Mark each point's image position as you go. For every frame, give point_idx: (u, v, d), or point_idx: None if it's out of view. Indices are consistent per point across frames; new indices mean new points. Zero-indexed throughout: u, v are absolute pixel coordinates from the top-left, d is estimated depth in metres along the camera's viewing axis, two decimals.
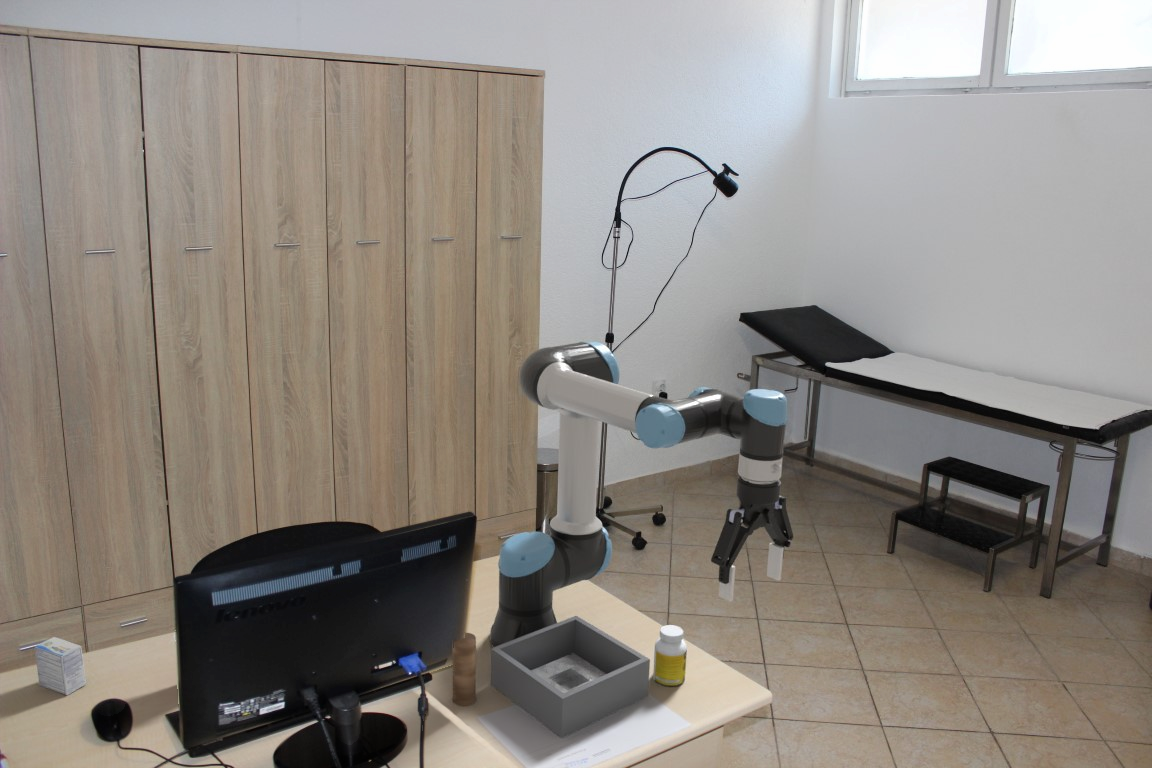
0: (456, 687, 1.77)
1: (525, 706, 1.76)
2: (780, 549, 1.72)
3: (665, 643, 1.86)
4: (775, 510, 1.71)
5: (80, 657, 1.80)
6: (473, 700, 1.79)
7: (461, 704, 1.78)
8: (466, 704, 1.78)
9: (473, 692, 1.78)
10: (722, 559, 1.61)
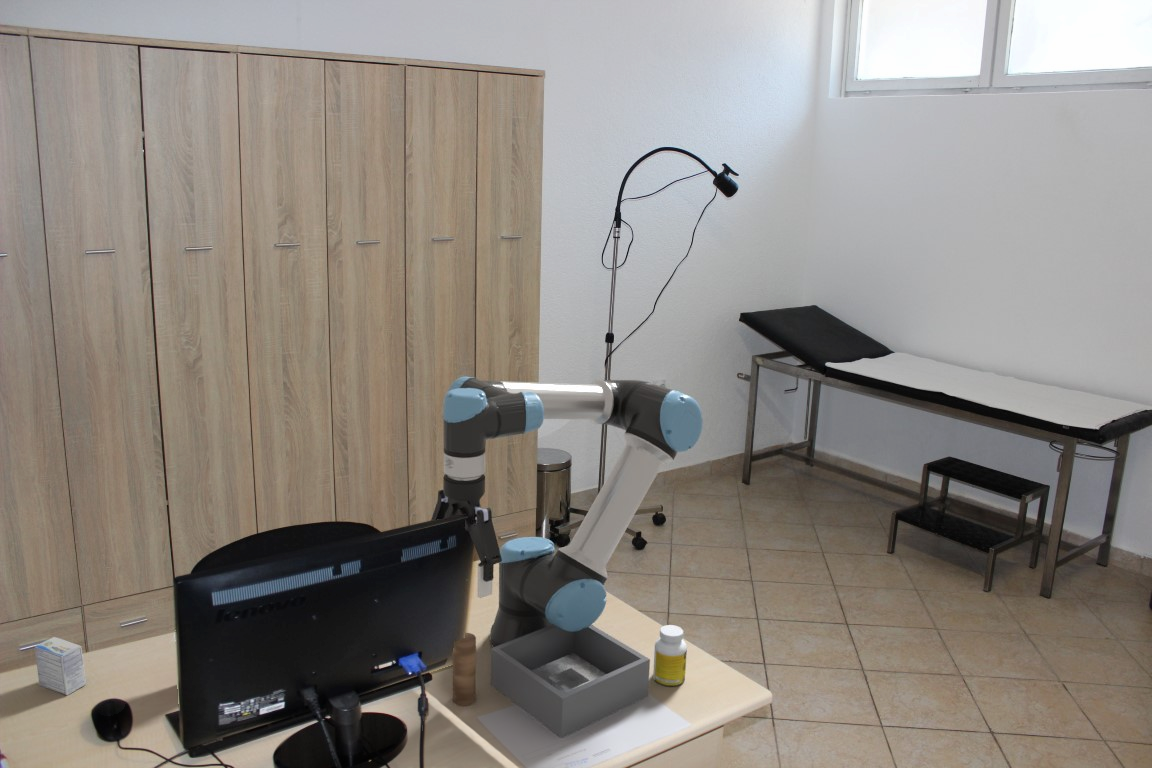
0: (456, 687, 1.77)
1: (525, 706, 1.76)
2: None
3: (665, 643, 1.86)
4: None
5: (80, 657, 1.80)
6: (473, 700, 1.79)
7: (461, 704, 1.78)
8: (466, 704, 1.78)
9: (473, 692, 1.78)
10: None
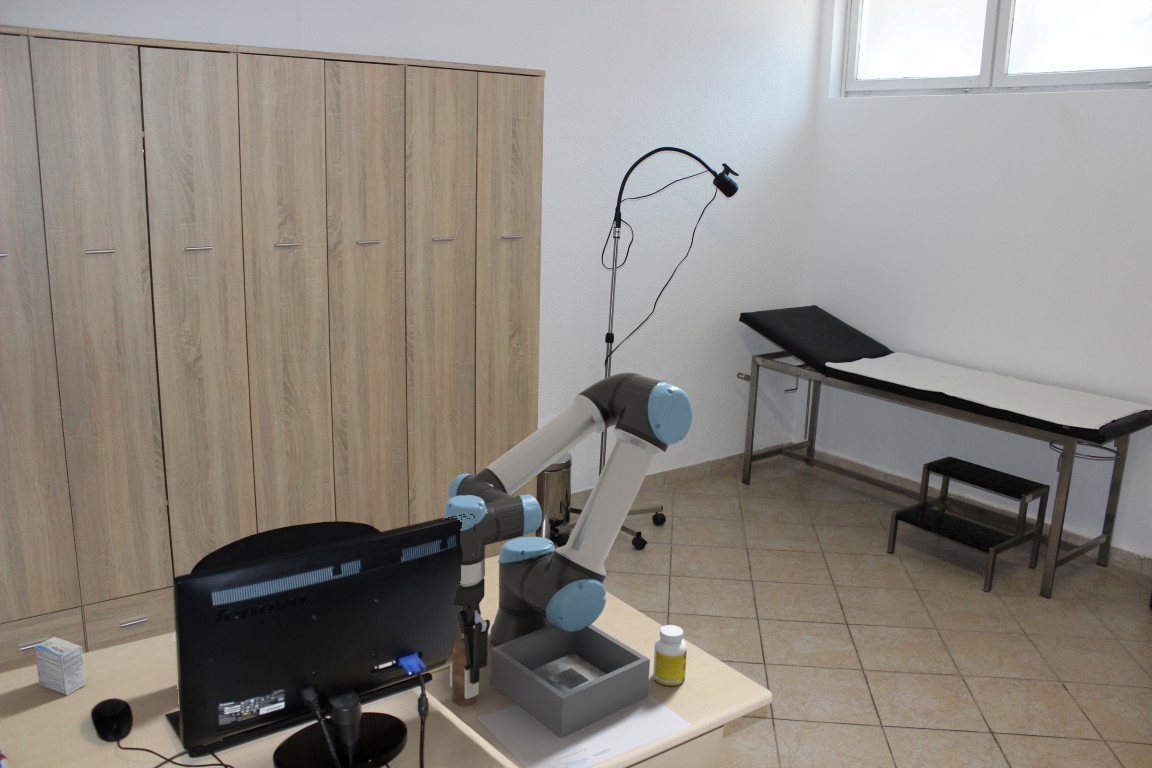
0: (456, 687, 1.77)
1: (525, 706, 1.76)
2: None
3: (665, 643, 1.86)
4: None
5: (80, 657, 1.80)
6: (473, 700, 1.79)
7: (461, 704, 1.78)
8: (466, 704, 1.78)
9: None
10: None
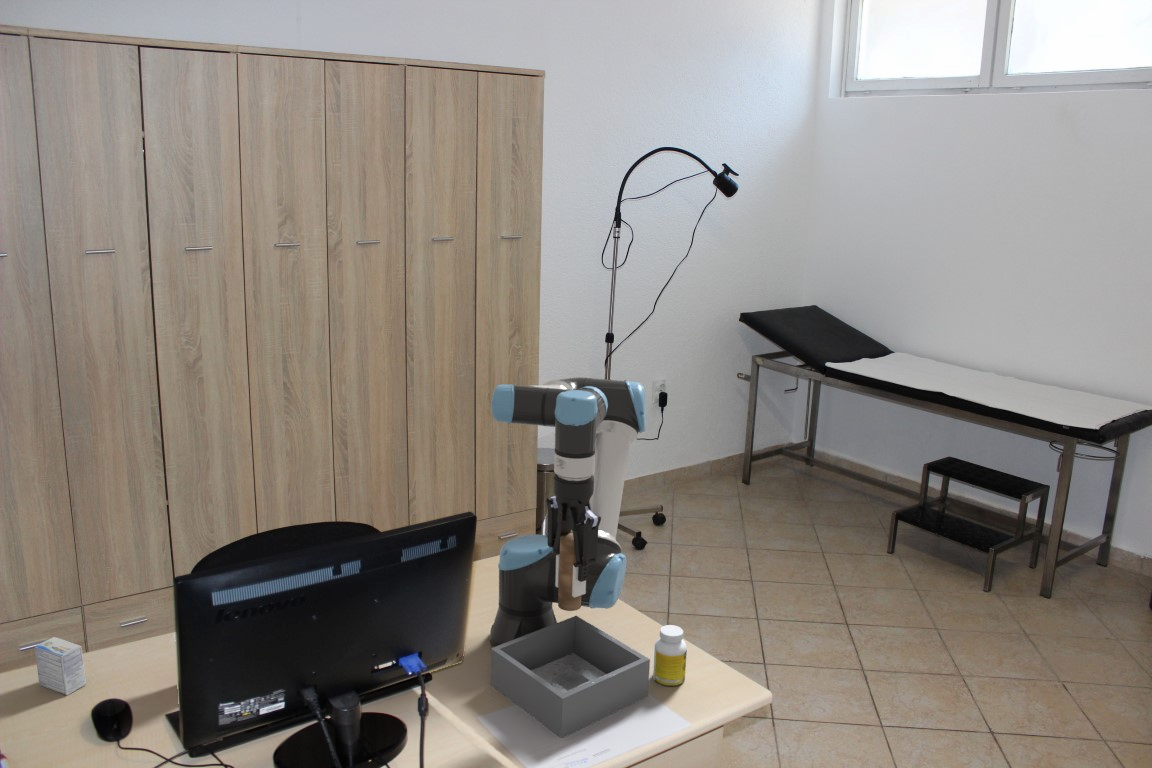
0: (563, 587, 1.76)
1: (525, 706, 1.76)
2: None
3: (665, 643, 1.86)
4: None
5: (80, 657, 1.80)
6: (579, 601, 1.78)
7: (568, 604, 1.77)
8: (573, 604, 1.77)
9: None
10: (548, 540, 1.80)
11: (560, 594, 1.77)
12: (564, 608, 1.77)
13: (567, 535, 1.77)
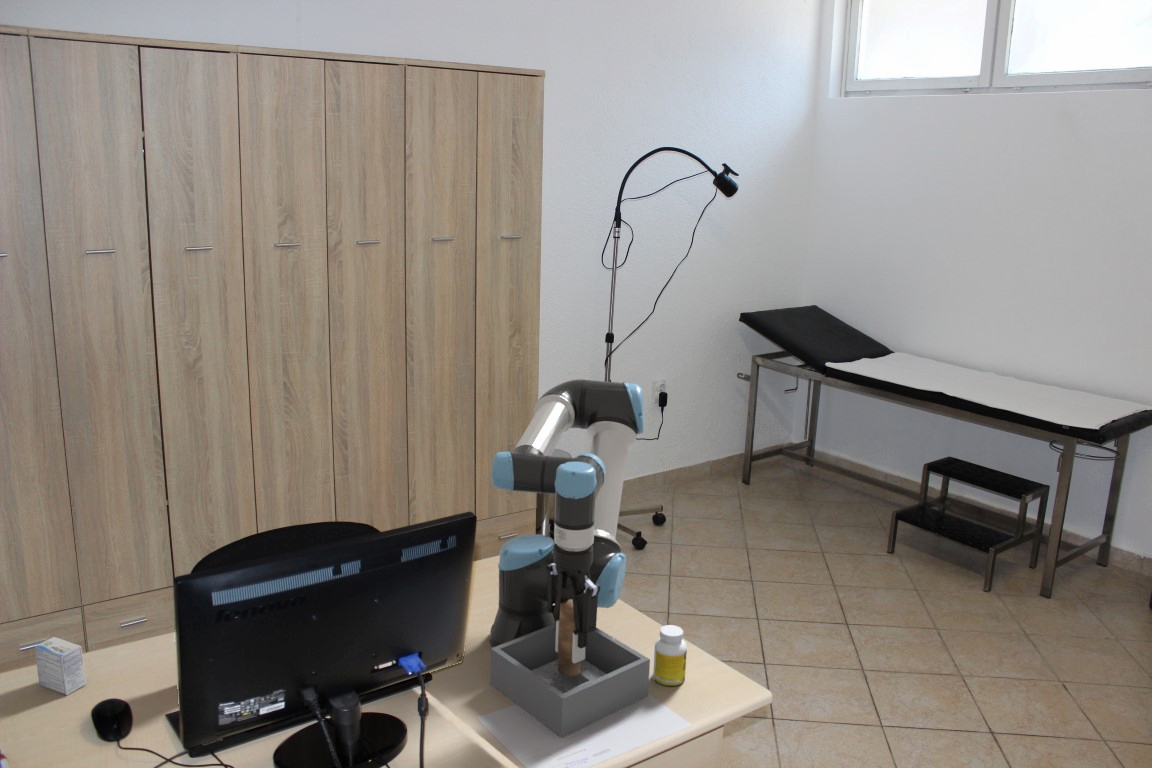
0: (563, 653, 1.80)
1: (525, 706, 1.76)
2: None
3: (665, 643, 1.86)
4: None
5: (80, 657, 1.80)
6: (579, 666, 1.81)
7: (568, 670, 1.80)
8: (573, 670, 1.80)
9: None
10: (548, 605, 1.84)
11: (560, 660, 1.81)
12: (564, 673, 1.81)
13: (567, 602, 1.80)
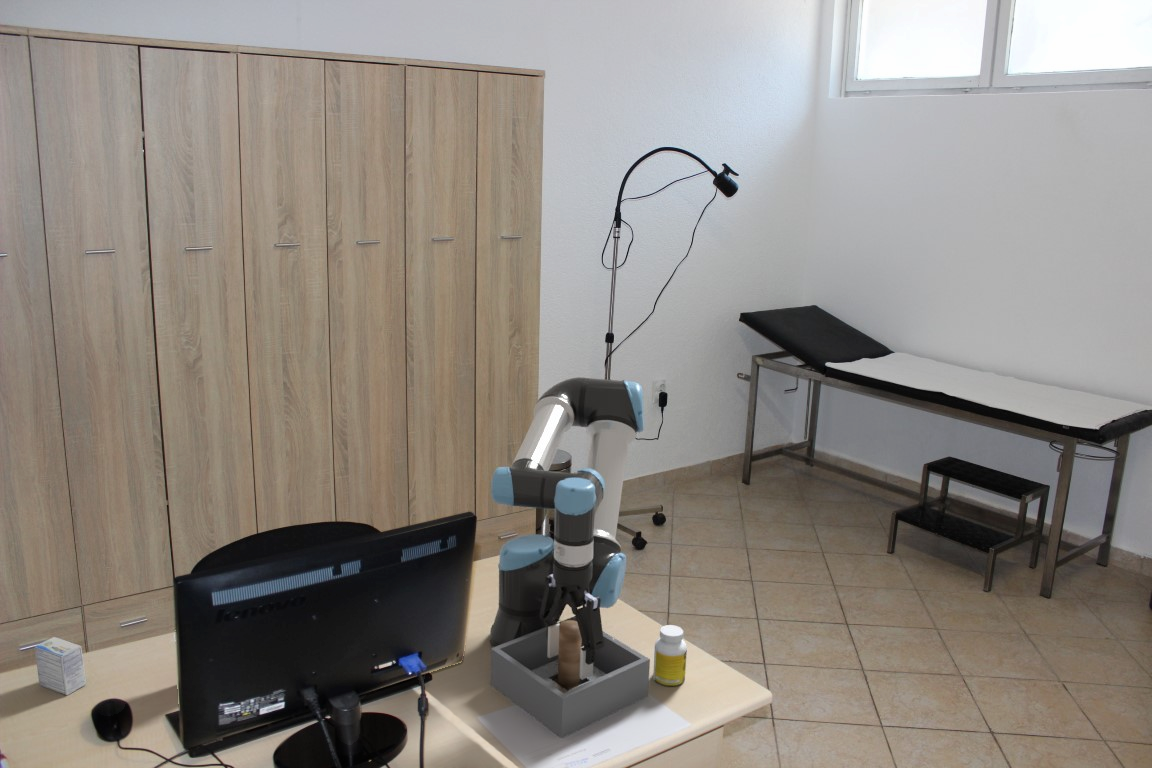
0: (562, 674, 1.81)
1: (525, 706, 1.76)
2: None
3: (665, 643, 1.86)
4: None
5: (80, 657, 1.80)
6: None
7: (567, 690, 1.81)
8: None
9: (578, 678, 1.82)
10: (540, 611, 1.86)
11: (559, 680, 1.82)
12: None
13: (566, 623, 1.81)
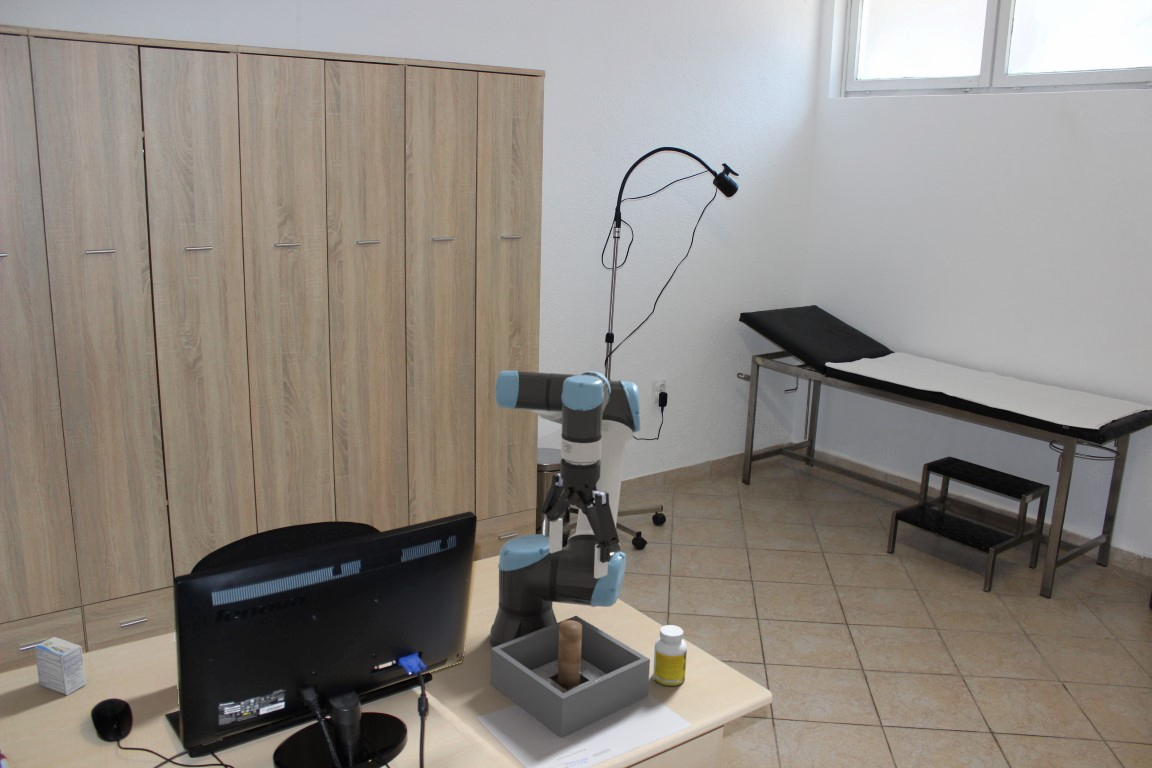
0: (562, 674, 1.81)
1: (525, 706, 1.76)
2: None
3: (665, 643, 1.86)
4: None
5: (80, 657, 1.80)
6: None
7: (567, 690, 1.81)
8: None
9: (578, 678, 1.82)
10: (543, 506, 1.84)
11: (559, 680, 1.82)
12: None
13: (566, 623, 1.81)
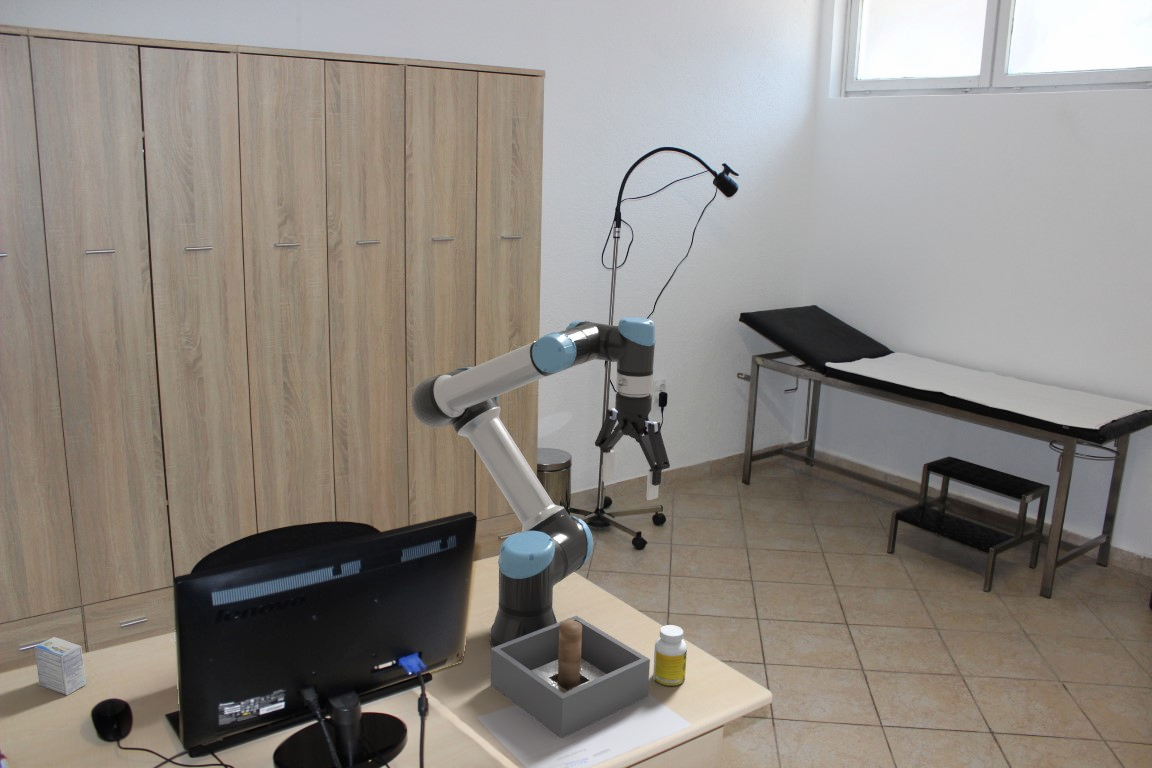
0: (562, 674, 1.81)
1: (525, 706, 1.76)
2: None
3: (665, 643, 1.86)
4: None
5: (80, 657, 1.80)
6: None
7: (567, 690, 1.81)
8: None
9: (578, 678, 1.82)
10: (596, 439, 2.03)
11: (559, 680, 1.82)
12: None
13: (566, 623, 1.81)
